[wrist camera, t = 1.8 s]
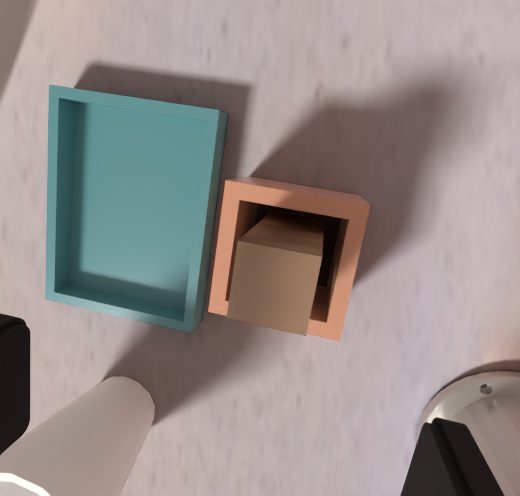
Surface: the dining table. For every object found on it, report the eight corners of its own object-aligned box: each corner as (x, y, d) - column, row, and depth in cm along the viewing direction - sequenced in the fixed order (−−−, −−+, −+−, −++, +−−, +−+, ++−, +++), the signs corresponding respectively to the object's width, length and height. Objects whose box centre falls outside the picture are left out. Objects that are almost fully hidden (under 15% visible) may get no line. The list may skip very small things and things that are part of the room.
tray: (228, 114, 28) (219, 109, 26) (201, 320, 32) (191, 333, 30) (71, 91, 30) (49, 84, 27) (65, 289, 34) (45, 299, 32)
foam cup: (104, 342, 35) (-22, 443, 22) (187, 398, 34) (108, 533, 22) (65, 412, 37) (-68, 539, 25) (142, 465, 37) (48, 620, 24)
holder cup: (360, 195, 28) (370, 205, 21) (336, 300, 30) (339, 341, 23) (248, 176, 29) (225, 180, 22) (233, 279, 31) (208, 311, 24)
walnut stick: (324, 219, 29) (322, 256, 17) (314, 268, 30) (305, 335, 18) (272, 210, 29) (237, 240, 18) (264, 258, 30) (226, 318, 19)
